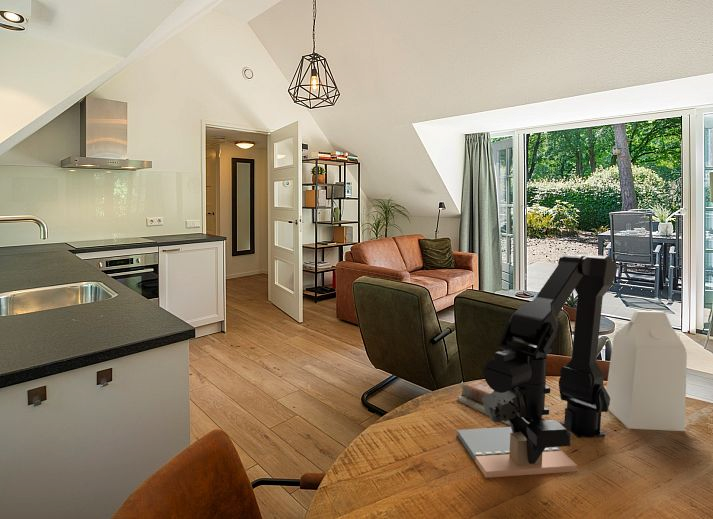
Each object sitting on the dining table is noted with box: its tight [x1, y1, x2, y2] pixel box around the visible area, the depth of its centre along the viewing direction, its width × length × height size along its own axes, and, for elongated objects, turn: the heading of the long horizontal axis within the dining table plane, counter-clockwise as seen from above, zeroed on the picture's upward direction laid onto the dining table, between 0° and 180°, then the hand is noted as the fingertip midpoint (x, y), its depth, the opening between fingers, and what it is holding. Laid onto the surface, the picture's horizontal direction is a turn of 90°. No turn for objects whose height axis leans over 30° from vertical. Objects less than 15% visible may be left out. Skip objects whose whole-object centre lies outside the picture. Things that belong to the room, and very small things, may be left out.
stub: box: [474, 432, 578, 479], centre depth 81 cm, size 18×5×6 cm, turn 96°
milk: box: [605, 310, 688, 432], centre depth 100 cm, size 12×12×26 cm
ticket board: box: [456, 426, 562, 462], centre depth 89 cm, size 18×10×1 cm, turn 96°
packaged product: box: [456, 379, 511, 427], centre depth 106 cm, size 18×5×10 cm
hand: (525, 456), depth 81 cm, fingers open, 4 cm apart
